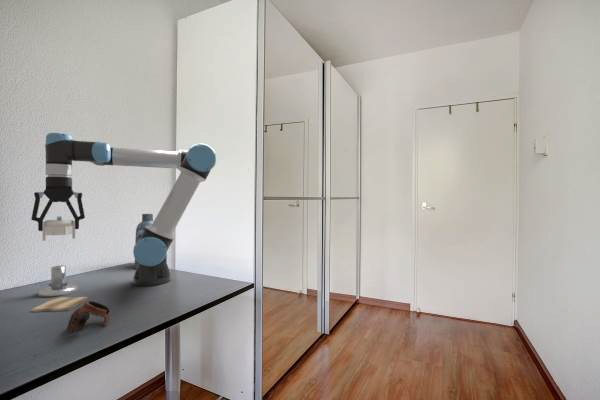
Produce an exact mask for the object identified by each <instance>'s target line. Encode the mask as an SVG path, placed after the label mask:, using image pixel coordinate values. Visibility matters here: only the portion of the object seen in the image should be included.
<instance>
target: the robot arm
mask: <svg viewBox="0 0 600 400" xmlns="http://www.w3.org/2000/svg"><path fill="white" fill-rule="evenodd" d="M44 148H45V176H46V177H45V189H44V191H39V192H37V191H36V192H34V193H33V194H34V199H35V200H34V204H33V208H32V209H33V210H32V213H31V218H30V219H31V221H35V222H37V228H38V231H39V232H42V241H43V242H44V241H46V239H47V237H46V236H47V235H45V221H44V219H45V218H46V216H47V214H48V212H49V209H50V208H51V206H52V204H53V203H58V202H59V203H65V204H66V206H67V207H68V210H69V212H70V213H71V215H72V217H73V234H71V236H72V237H71V238H72V240H73V239H74V240H75V239H76V230H79V228H80V221H81V220H84V219H85V217H86V215H85V210H84V205H83V199H82V198H83V193H82V192H75V191H74V190H73V178H72V176H73V162H86V163H88V162H89V163H92V164H93V165H96V166H102V167H103V166H118V167H119V166H120V167H122V166H123V167H140V168H142V167H143V168H160V169H175V170H176V169H177V170H178V171H180V173H179V176H178V177H177V179H176V181H175V182H174V184H173V186H172V188H171V189H170V191H169V193H168V195H167V196H166V198H165V200H164V202H163V204H162V205H161V208H160V209H159V211H158V212H157V214H156V217H155V218H154V219H153V221H154V222H153V224H152V225H149V226H147V227H146V228H145V230H140V231H139V232H138V235H137V238H138V242H137V243H136V244H135V243H134V246H133V249H132V250H133V251H132V253H133V258H134V260H135V259H136V261H137V262H138V266H137V269H136V268H135V272H134V276H133V278H132V283H133V285H135V286H139V287H141V286H142V287H143V286H144V287H149V286H156V285H157V286H158V285H161V284H162V285H163V284H165V283H168V282H170V281H171V280H172V275H171V271H170V268H169V265H168V263H167V262H168V261H167V259H168V258H167V257H168V254H167V253H168V250H169V249H170V247H171V245H172V243H173V241H174V240H175V236H174V234H173V233H174V231H175V229H176V227H177V226H178V223H179V221H180V220H181V218H182V216H183V214H184V213H185V211H186V209H187V207H188V205H190V202H191V200H192V199H193V196H194V195H195V193H196V191H197V189H198V187H199V185H200V183H202V182H205V181H206V180H207V178H208V176H209V175H210V173H211V171H212V170H213V168H215V166H216V164H217V154H216V152H215V149H213V148H212V147H211V146H209V145H208V144H205V143H196V144H193V145H192V146H190V147H189V148H188V149H179V150H178V151H167V150H155V149H153V150H152V149H142V148H141V149H138V148H126V147H125V148H124V147H111V145H110V144H109V143H108V142H100V141H88V140H87V141H85V140H84V141H83V140H74V139H73V136H72V135H70V134H68V133H67V134H66V133H60V132H49V133H47V134H46V135H45V144H44ZM44 195H45V197H47V198H48V202H47V204H45V207H44V209H43V210H42V212H41V215H40V217H37V216H38V213H39V207H40V201H41V199H42V198H43V197H44ZM73 195H74V198H75V199H76V201H77V205H78V211H79V216H78V214H77V212H76V210H75V209H74V207H73V204H72V203H71V201H70V199H71V197H72V196H73Z"/></svg>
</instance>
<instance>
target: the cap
mask: <svg viewBox="0 0 600 400" xmlns="http://www.w3.org/2000/svg"><path fill="white" fill-rule="evenodd" d="M73 221H74V219H71V218H70V219H69V218H67V219H62V216H56V219H46V220H44V222H45V235H46V236H65V235H72V234H73Z"/></svg>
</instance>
